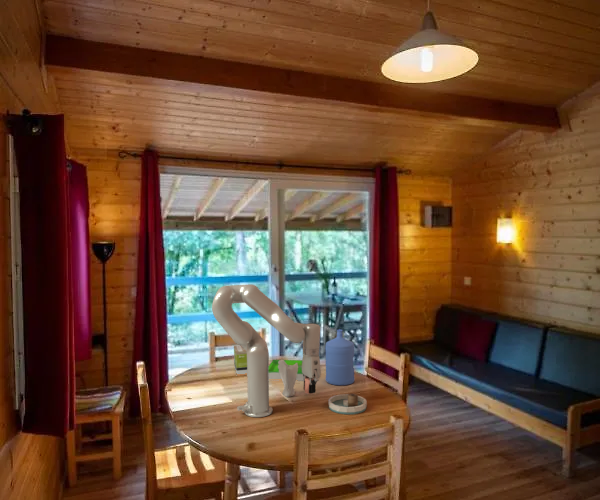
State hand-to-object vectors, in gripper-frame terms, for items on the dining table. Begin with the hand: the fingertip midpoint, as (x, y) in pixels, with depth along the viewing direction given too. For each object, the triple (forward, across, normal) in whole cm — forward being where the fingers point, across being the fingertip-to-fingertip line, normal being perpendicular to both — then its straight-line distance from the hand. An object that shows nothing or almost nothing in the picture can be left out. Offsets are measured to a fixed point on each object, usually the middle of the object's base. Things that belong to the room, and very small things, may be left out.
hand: (309, 390), depth 206 cm
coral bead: (+1, 0, 0) cm, 1 cm away
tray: (+9, +52, -16) cm, 55 cm away
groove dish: (+8, -6, -17) cm, 19 cm away
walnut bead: (+7, -11, -17) cm, 21 cm away
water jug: (+8, +28, -33) cm, 44 cm away
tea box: (+10, +68, +8) cm, 69 cm away
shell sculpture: (+9, +20, 0) cm, 22 cm away
